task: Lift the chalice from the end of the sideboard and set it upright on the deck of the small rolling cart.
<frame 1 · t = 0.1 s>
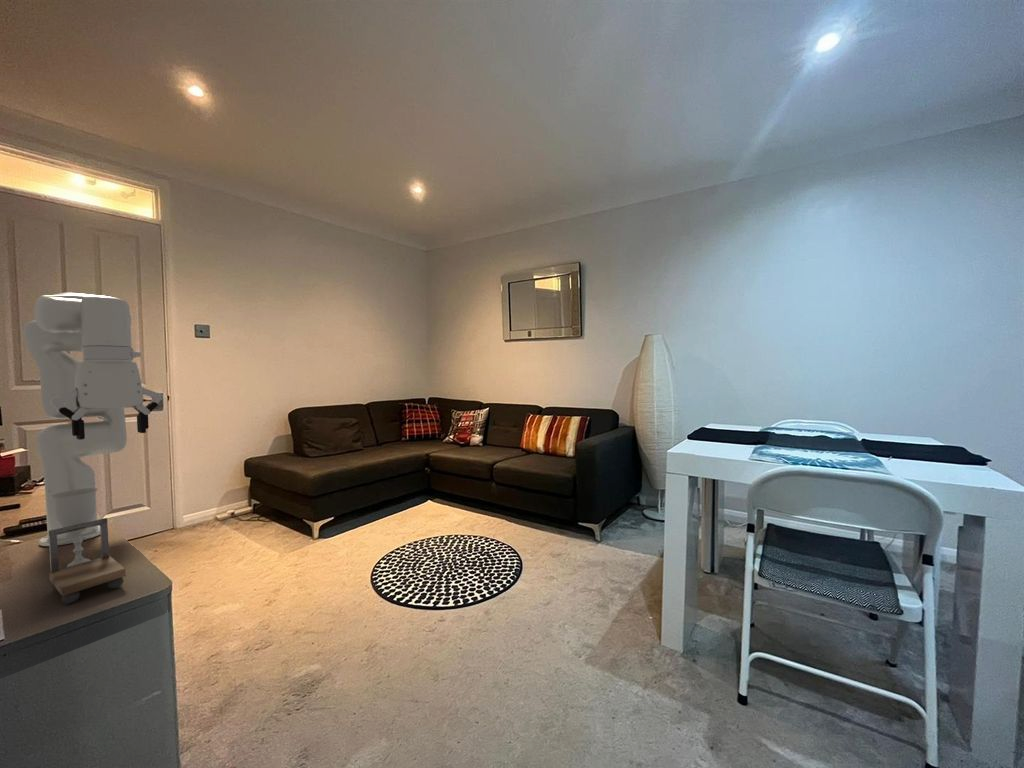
hand: (112, 435, 89), 31 cm above the table, tool pointing down, fingers open, 9 cm apart
cart: (86, 559, 85), point 6 cm above the table, slide at 0.0 cm
chalice: (79, 571, 94), on the table
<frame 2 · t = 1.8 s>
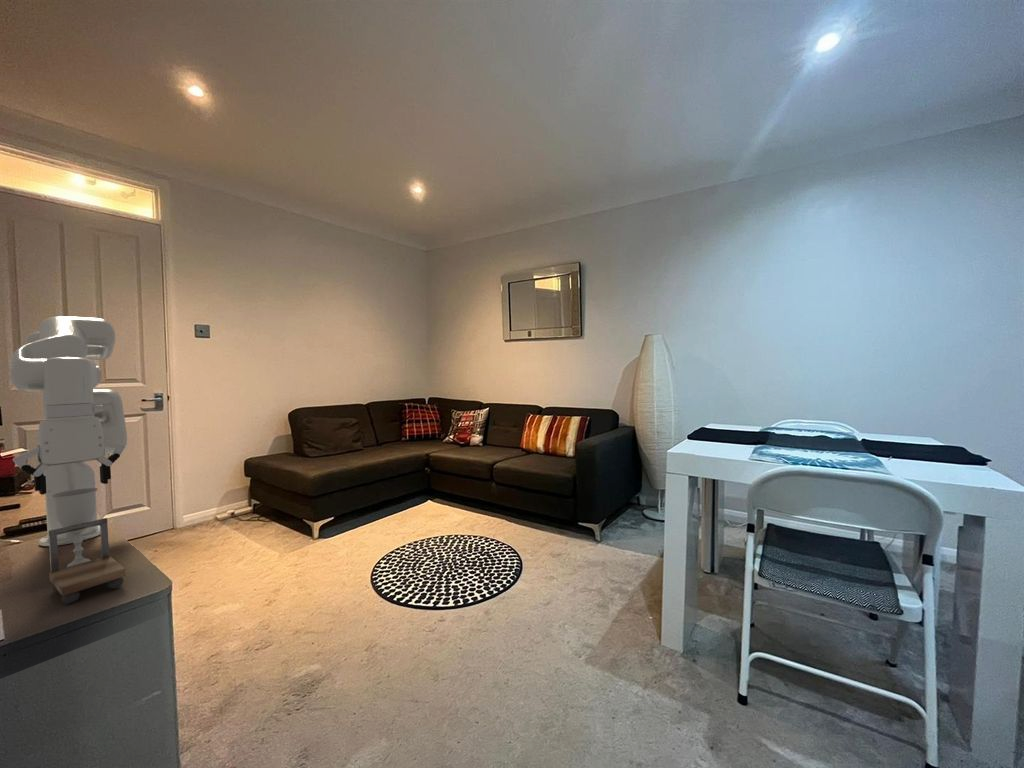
hand: (74, 488, 93), 19 cm above the table, tool pointing down, fingers open, 9 cm apart
nothing on the table moved.
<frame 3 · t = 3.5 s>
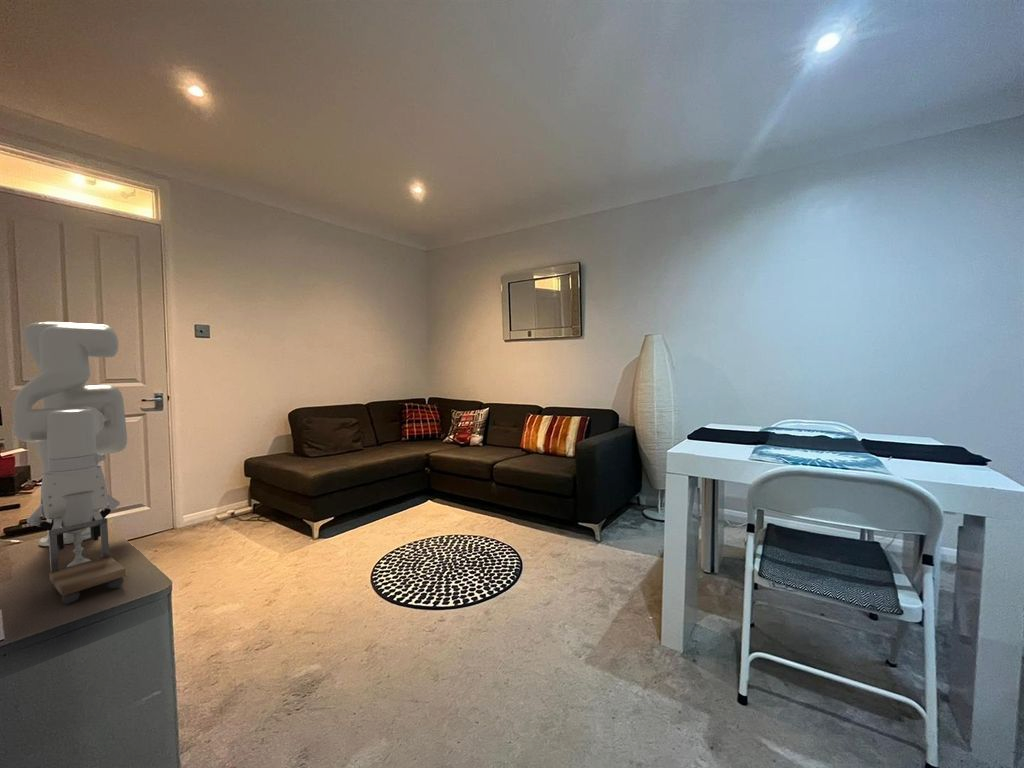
hand: (77, 542, 94), 6 cm above the table, tool pointing down, fingers closed on chalice, 4 cm apart
chalice: (79, 571, 94), on the table, touching gripper
everything else where it was.
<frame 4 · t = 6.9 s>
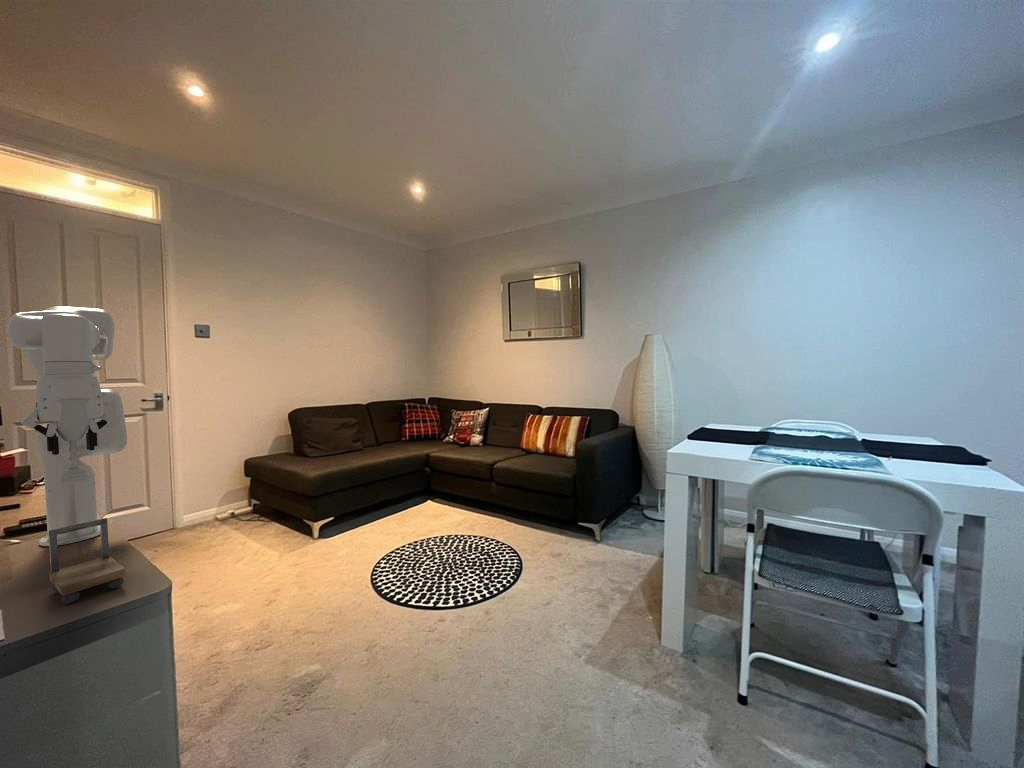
hand: (73, 451, 93), 27 cm above the table, tool pointing down, fingers closed on chalice, 4 cm apart
chalice: (75, 480, 93), point 21 cm above the table, touching gripper
everything else where it was.
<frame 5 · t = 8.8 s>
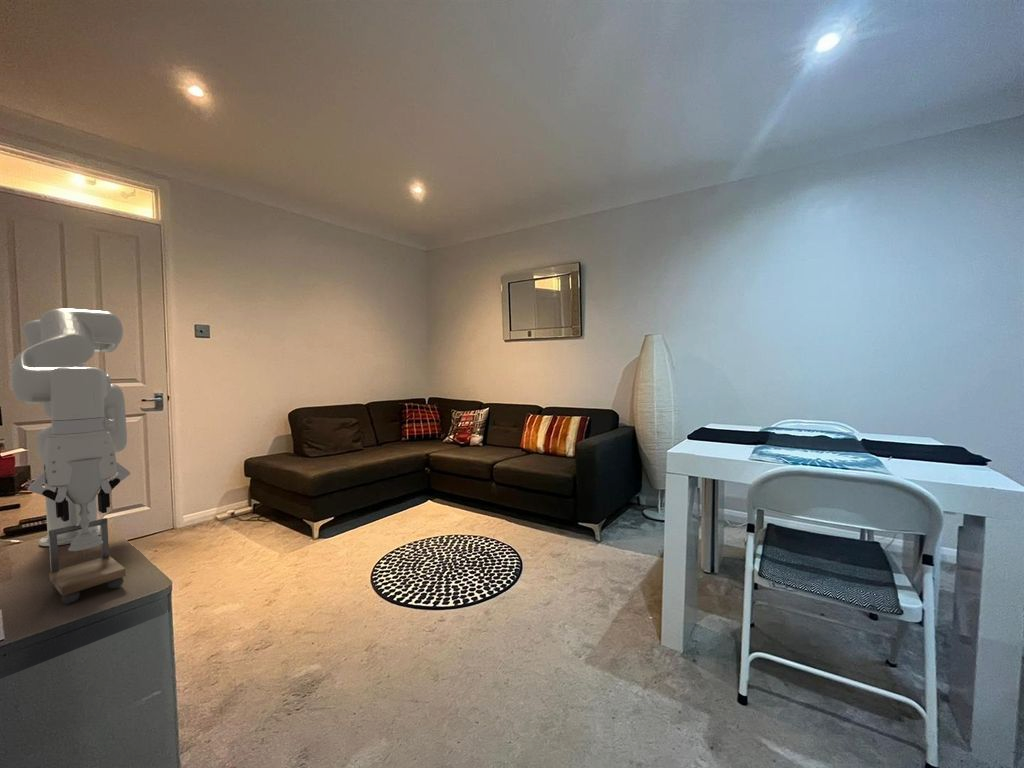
hand: (84, 515, 85), 15 cm above the table, tool pointing down, fingers closed on chalice, 4 cm apart
chalice: (86, 546, 85), point 9 cm above the table, touching gripper
everything else where it was.
when the fingers open (11 cm above the table, at t = 10.1 s): chalice stays where it is, resting on cart.
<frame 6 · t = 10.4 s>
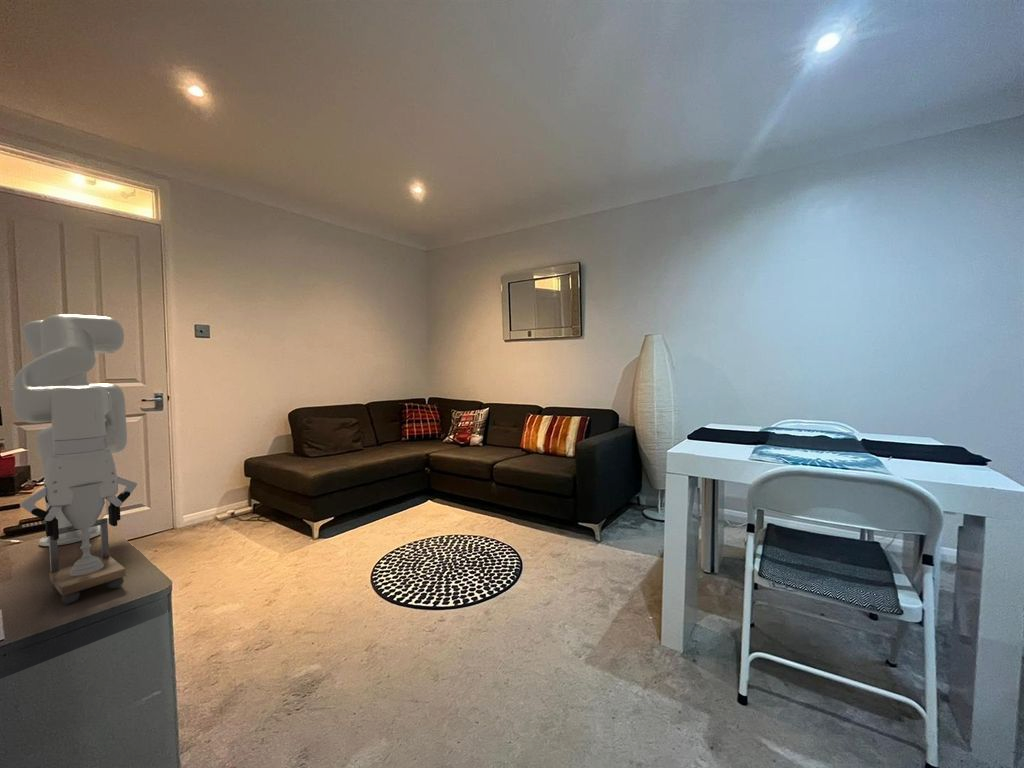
hand: (85, 531, 85), 12 cm above the table, tool pointing down, fingers open, 8 cm apart
cart: (86, 559, 85), point 6 cm above the table, slide at 0.0 cm, touching chalice
chalice: (87, 570, 85), point 4 cm above the table, touching cart
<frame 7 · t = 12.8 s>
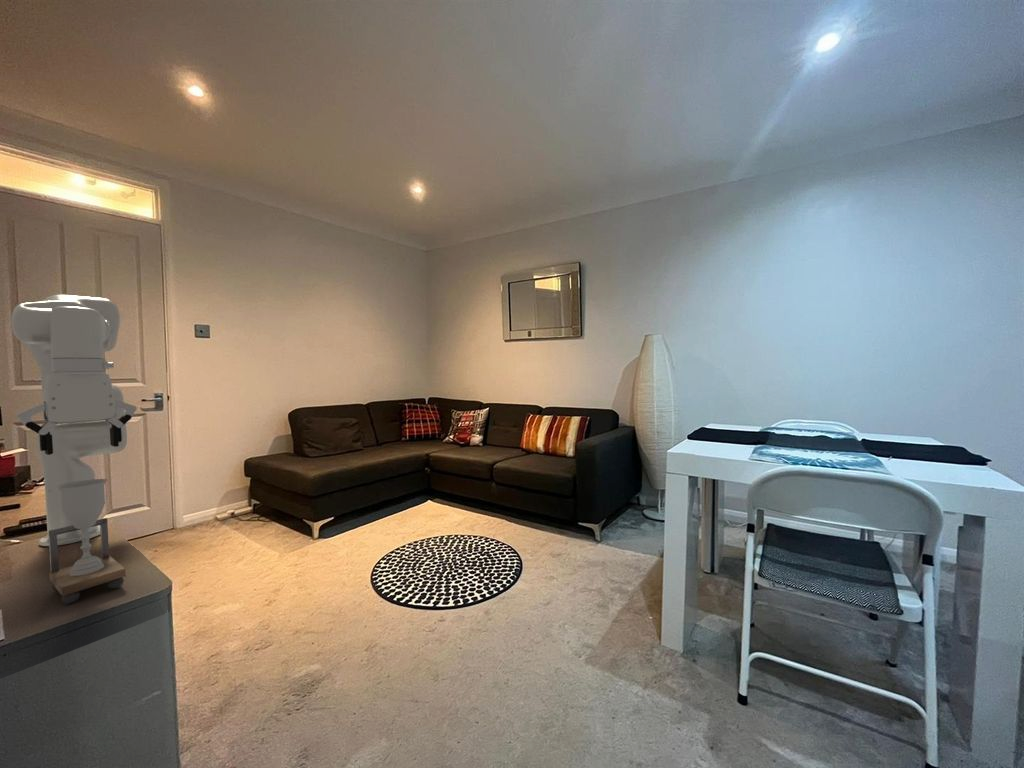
hand: (83, 449, 86), 29 cm above the table, tool pointing down, fingers open, 9 cm apart
nothing on the table moved.
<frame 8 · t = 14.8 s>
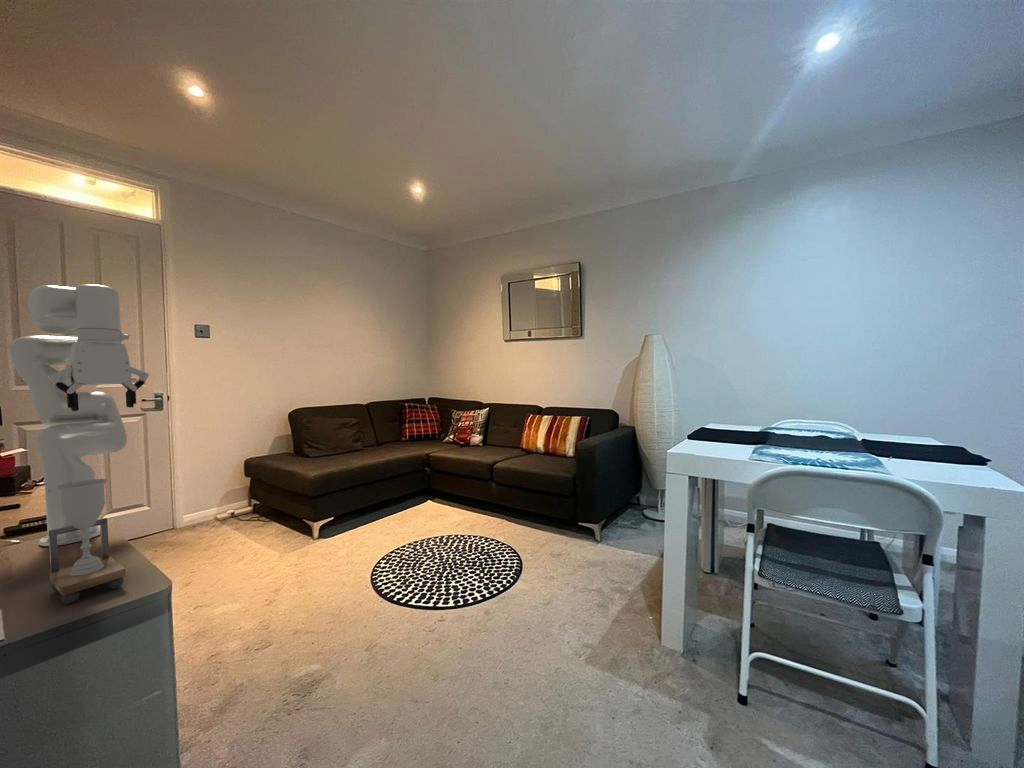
hand: (103, 408, 100), 36 cm above the table, tool pointing down, fingers open, 9 cm apart
nothing on the table moved.
at the end: chalice 0.3 cm off-centre on the cart, point 3.8 cm above the cart's base; chalice tilted 0°; the gripper is holding nothing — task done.
